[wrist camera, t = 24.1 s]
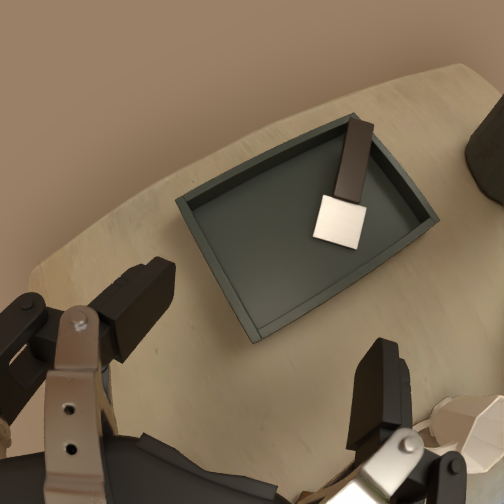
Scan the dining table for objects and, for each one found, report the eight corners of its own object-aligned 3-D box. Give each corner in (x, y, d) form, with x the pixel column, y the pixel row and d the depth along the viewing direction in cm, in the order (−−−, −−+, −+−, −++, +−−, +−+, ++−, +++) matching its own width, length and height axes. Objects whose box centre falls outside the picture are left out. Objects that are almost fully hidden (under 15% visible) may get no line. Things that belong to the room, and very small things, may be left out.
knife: (354, 250, 25) (378, 133, 25) (358, 249, 23) (382, 126, 23) (311, 237, 25) (339, 121, 25) (313, 236, 24) (341, 114, 24)
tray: (254, 343, 23) (252, 344, 21) (182, 211, 27) (174, 199, 24) (428, 229, 25) (440, 220, 22) (349, 127, 28) (354, 112, 26)
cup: (466, 438, 19) (512, 457, 11) (383, 464, 19) (419, 502, 11) (473, 376, 20) (526, 382, 13) (389, 397, 21) (434, 419, 13)
